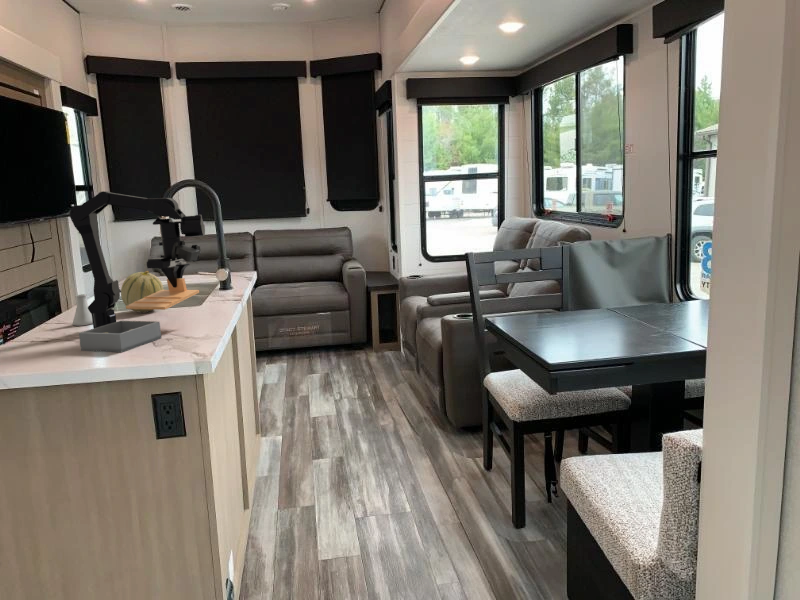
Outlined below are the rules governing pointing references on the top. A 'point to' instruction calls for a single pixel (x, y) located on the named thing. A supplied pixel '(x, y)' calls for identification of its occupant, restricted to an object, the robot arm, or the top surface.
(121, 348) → the tub
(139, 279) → the cantaloupe
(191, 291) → the lid
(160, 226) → the robot arm
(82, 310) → the flask
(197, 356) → the top surface
